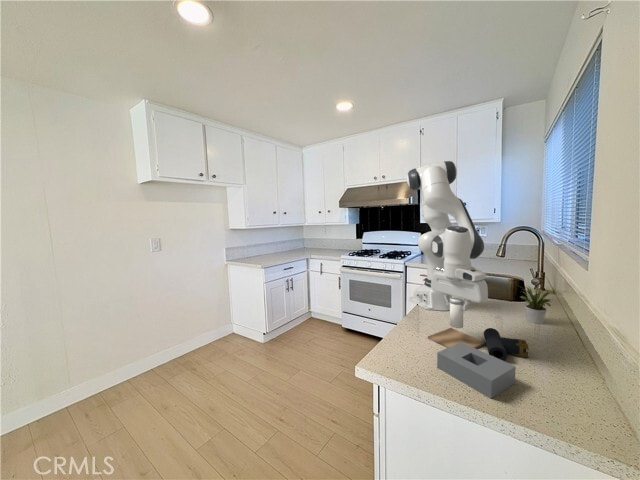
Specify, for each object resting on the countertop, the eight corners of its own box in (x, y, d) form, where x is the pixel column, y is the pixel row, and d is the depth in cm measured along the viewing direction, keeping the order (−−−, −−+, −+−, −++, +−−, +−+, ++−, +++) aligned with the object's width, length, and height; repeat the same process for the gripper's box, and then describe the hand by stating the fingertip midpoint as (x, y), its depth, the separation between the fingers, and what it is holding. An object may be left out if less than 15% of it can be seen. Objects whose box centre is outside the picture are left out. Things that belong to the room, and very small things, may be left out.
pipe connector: (521, 331, 92) (533, 352, 78) (521, 345, 92) (533, 368, 79) (483, 326, 97) (488, 345, 84) (483, 340, 97) (488, 360, 84)
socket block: (437, 367, 81) (437, 352, 80) (460, 356, 86) (461, 342, 86) (490, 398, 67) (491, 380, 66) (514, 383, 72) (515, 366, 72)
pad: (427, 338, 99) (427, 336, 99) (450, 329, 106) (450, 327, 106) (462, 355, 87) (462, 353, 87) (486, 344, 93) (486, 342, 93)
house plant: (507, 320, 112) (508, 284, 110) (514, 312, 121) (516, 278, 119) (550, 331, 101) (553, 291, 100) (555, 320, 110) (557, 283, 109)
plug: (447, 325, 96) (447, 298, 95) (454, 322, 98) (454, 297, 98) (458, 329, 92) (458, 302, 91) (466, 326, 94) (466, 299, 94)
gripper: (427, 267, 101) (427, 301, 102) (480, 277, 83) (479, 318, 84) (437, 265, 104) (437, 298, 105) (491, 274, 86) (490, 314, 87)
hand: (456, 307), depth 95 cm, fingers closed on plug, 4 cm apart
